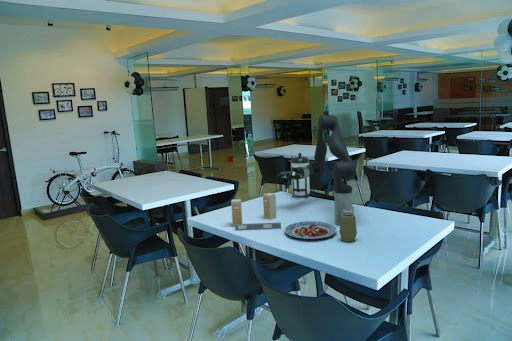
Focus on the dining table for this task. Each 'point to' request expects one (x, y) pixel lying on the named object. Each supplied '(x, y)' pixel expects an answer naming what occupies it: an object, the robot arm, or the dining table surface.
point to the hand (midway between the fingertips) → (282, 177)
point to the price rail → (258, 226)
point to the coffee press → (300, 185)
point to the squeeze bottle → (348, 225)
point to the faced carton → (236, 211)
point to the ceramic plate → (310, 229)
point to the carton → (269, 205)
